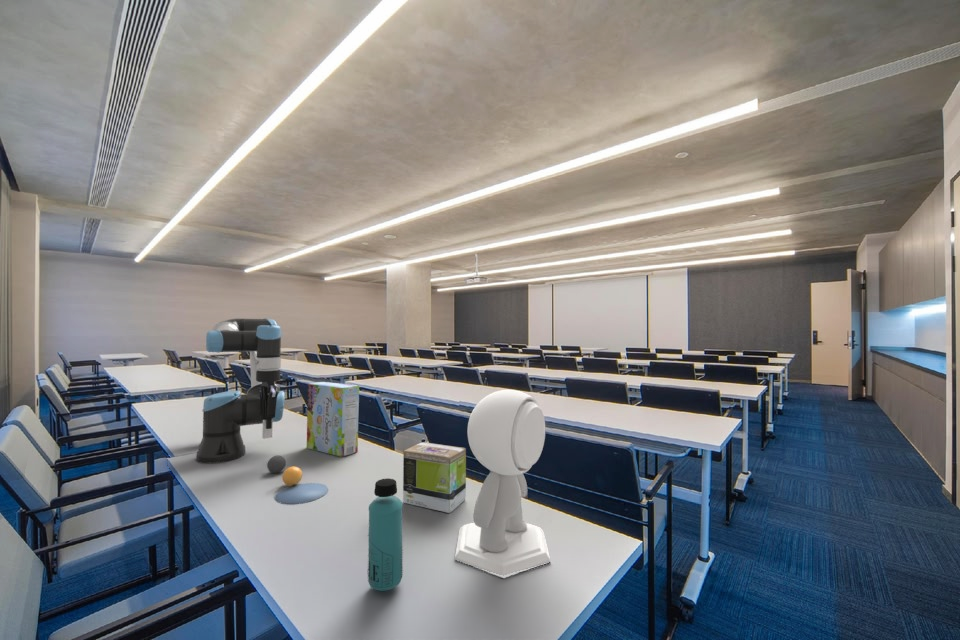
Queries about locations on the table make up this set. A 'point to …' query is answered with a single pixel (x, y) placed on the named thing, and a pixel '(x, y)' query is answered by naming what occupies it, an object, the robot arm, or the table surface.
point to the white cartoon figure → (504, 484)
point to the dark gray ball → (276, 464)
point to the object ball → (292, 476)
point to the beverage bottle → (385, 537)
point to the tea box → (434, 476)
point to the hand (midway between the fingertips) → (267, 437)
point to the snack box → (333, 418)
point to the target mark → (301, 493)
